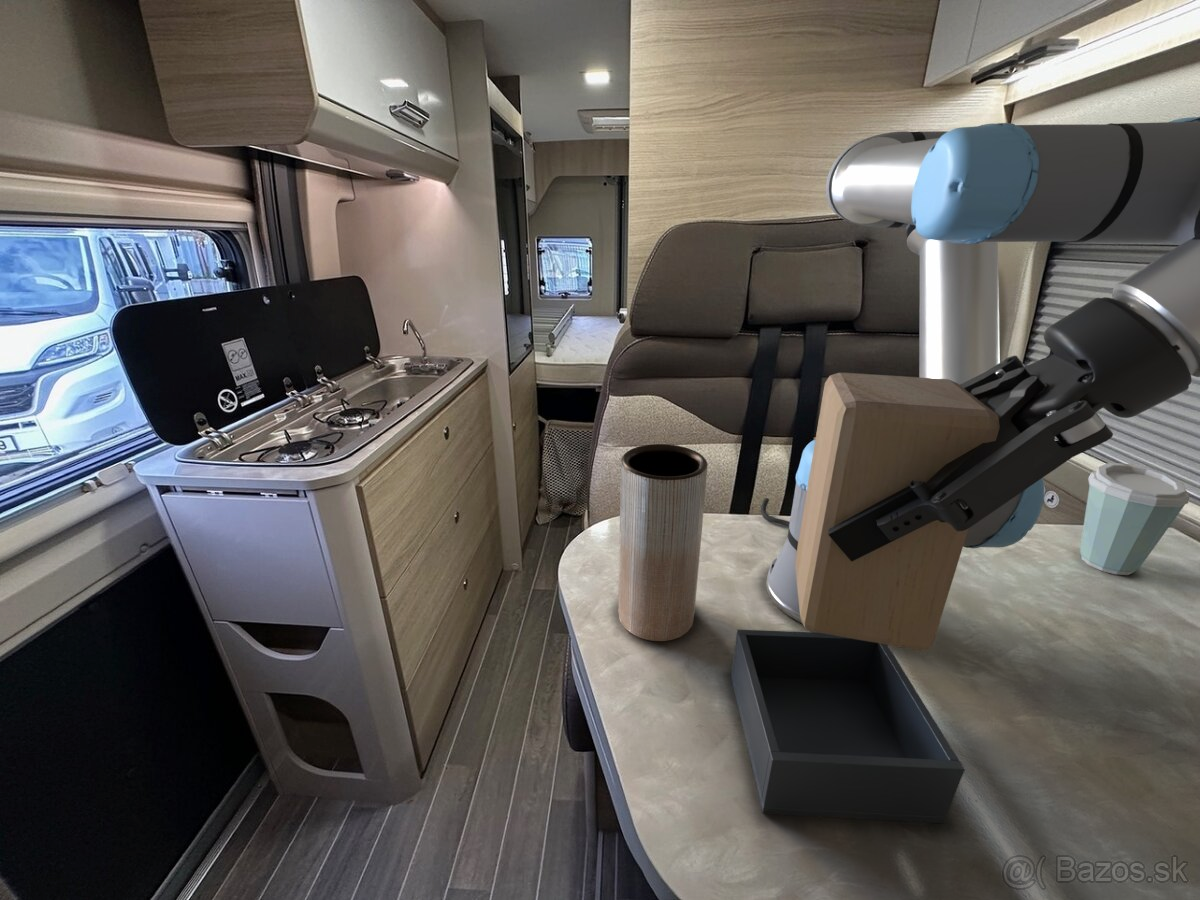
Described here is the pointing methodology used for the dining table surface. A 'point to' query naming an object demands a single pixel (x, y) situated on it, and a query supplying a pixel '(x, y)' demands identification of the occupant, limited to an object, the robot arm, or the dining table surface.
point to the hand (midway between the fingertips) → (837, 510)
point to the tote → (839, 730)
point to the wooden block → (869, 475)
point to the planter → (660, 539)
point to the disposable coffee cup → (1128, 515)
